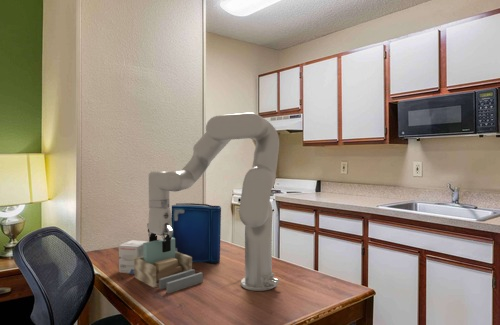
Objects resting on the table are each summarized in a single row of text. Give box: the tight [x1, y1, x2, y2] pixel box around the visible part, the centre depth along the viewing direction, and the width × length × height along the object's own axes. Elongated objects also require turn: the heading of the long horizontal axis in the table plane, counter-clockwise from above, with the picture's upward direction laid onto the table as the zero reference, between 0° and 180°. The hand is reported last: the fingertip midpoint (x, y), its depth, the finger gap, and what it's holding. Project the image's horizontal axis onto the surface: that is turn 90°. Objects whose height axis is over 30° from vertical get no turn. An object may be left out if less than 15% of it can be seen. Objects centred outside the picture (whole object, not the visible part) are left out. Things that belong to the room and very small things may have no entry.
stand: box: [158, 268, 204, 295], centre depth 117 cm, size 9×15×4 cm, turn 135°
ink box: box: [118, 239, 148, 275], centre depth 133 cm, size 9×8×12 cm
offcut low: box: [156, 265, 182, 283], centre depth 123 cm, size 4×10×4 cm, turn 135°
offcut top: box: [153, 257, 178, 273], centre depth 123 cm, size 4×8×3 cm, turn 139°
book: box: [171, 202, 222, 264], centre depth 145 cm, size 22×7×25 cm, turn 84°
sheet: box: [143, 237, 175, 265], centre depth 127 cm, size 2×12×13 cm, turn 135°
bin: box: [134, 251, 193, 289], centre depth 125 cm, size 14×16×8 cm
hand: (159, 248), depth 127 cm, fingers open, 9 cm apart
